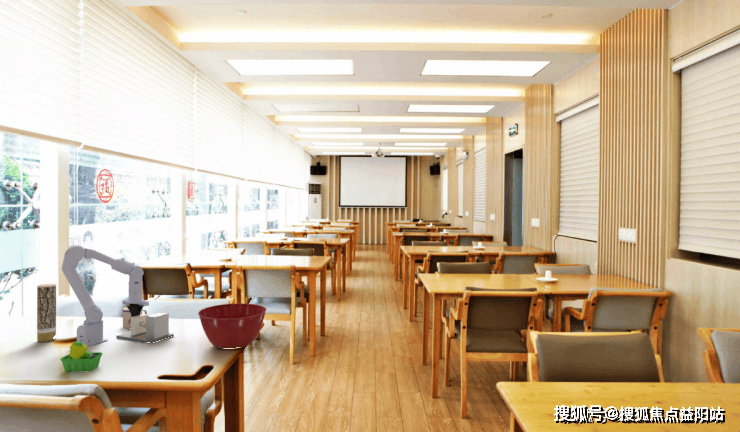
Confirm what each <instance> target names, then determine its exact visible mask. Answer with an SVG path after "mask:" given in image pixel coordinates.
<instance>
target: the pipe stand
mask: <svg viewBox="0 0 740 432" xmlns="http://www.w3.org/2000/svg"><path fill="white" fill-rule="evenodd" d="M169 317H170V315H169V312H157V313H152V314H149V315H148V316H146V323H141V322H139V326H140V327H146V338H147V339H153V340H155V339H158V338H161V337H164V336H167V335H169V333H170V332H169V331H170V330H169V322H170V321H169V320H170V318H169ZM129 324H130V325H131V322H130V323H129Z"/></svg>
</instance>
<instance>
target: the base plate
mask: <svg viewBox="0 0 740 432" xmlns="http://www.w3.org/2000/svg"><path fill="white" fill-rule="evenodd" d="M171 336H174V333H171V332H169V335H167V336H164V337H161V338H158V339H155V340H153V339H147V338H146V332H144V333H140V334H137V335H131V331H128V332H125V333H121V334H116V339H119V340H125V341H131V342H137V341H140V342H139V343H144V342H150V343H153V342H156V341H159V340H162V339H165V338H168V337H171ZM171 338H172V337H171ZM168 339H169V338H168ZM165 340H166V339H165ZM162 341H163V340H162ZM159 342H160V341H159ZM150 343H149V344H150ZM156 343H157V342H156ZM153 344H154V343H153Z"/></svg>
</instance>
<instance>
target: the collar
mask: <svg viewBox="0 0 740 432" xmlns="http://www.w3.org/2000/svg"><path fill="white" fill-rule="evenodd" d="M146 316H149V315H148V313H147V314H145V313H142V315H138V316H134V317H131V328H130V332H131V335H137V334H140V333H144V332H146V327H140V326H139V322H141V323H146Z"/></svg>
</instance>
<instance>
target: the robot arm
mask: <svg viewBox="0 0 740 432" xmlns="http://www.w3.org/2000/svg"><path fill="white" fill-rule="evenodd" d="M63 256H64V257H63V259H62V260H63V261H62V264H61V271H62V273H63V274H64V276H65V278H66V280H67V283H69V285H70V287H71V289H72V290H73V291H72V292H74V295H75V296H76V297H77V299H78V301H79V303H80V305H81V306H82V308H83V311H84V317H85V320H84V321H83V323H82V324H81V325H78V326H77V328H76V341H80V342H81V343H82V344H84V345H86V346H87V347H90V346H93V345H97V344H100V343H103V342H107V341H108V338H104V319H103V316H104V315H103V314H104V313H103V311H102V309H101V308H100V307H99V305H96V304H95V301H94V300H93V298H92V296H91V294H90V293H89V291H88V288H87V287H86V285H85V284H84V282H83V280H82V278H81V277H80V274H79V273H78V271H77V267H78V265H79V263H80V261H81V260H83V259H85V260H88V259H94V260H96V261H99V262H102V263H104V264H106V265H110V267H111V270H114V271H116V272H117V273H120V274H123V275H124V276H125V275H128V298H125V299H122V304H123V305H124V304H125V305H127V306H126V307H127V308H128V309H129V311H130V313H131V316H132V317H134V316H138V315H140V312H141V310H143V309H142V308H144V307H148V306H150V301H149V300H145V299H144V298H143V295H144V294H143V289H144V288H143V287H144V286H143V283H144V282H143V276H144V274H145V272H144V269H143V268H142V267H141V266H139V265H138V264H136V263H135V262H130V261H128V260H126V259H125V258H124V257H117V258H114V257H111V256H108V255H107V254H104V253H102V252H101V251H97V250H96V249H93V248H90V247H86V246H82V245H79V244H72V245H70V246H69V247H68V248H67V250H66V251H65V253H64V255H63ZM129 305H130V306H129Z"/></svg>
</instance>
